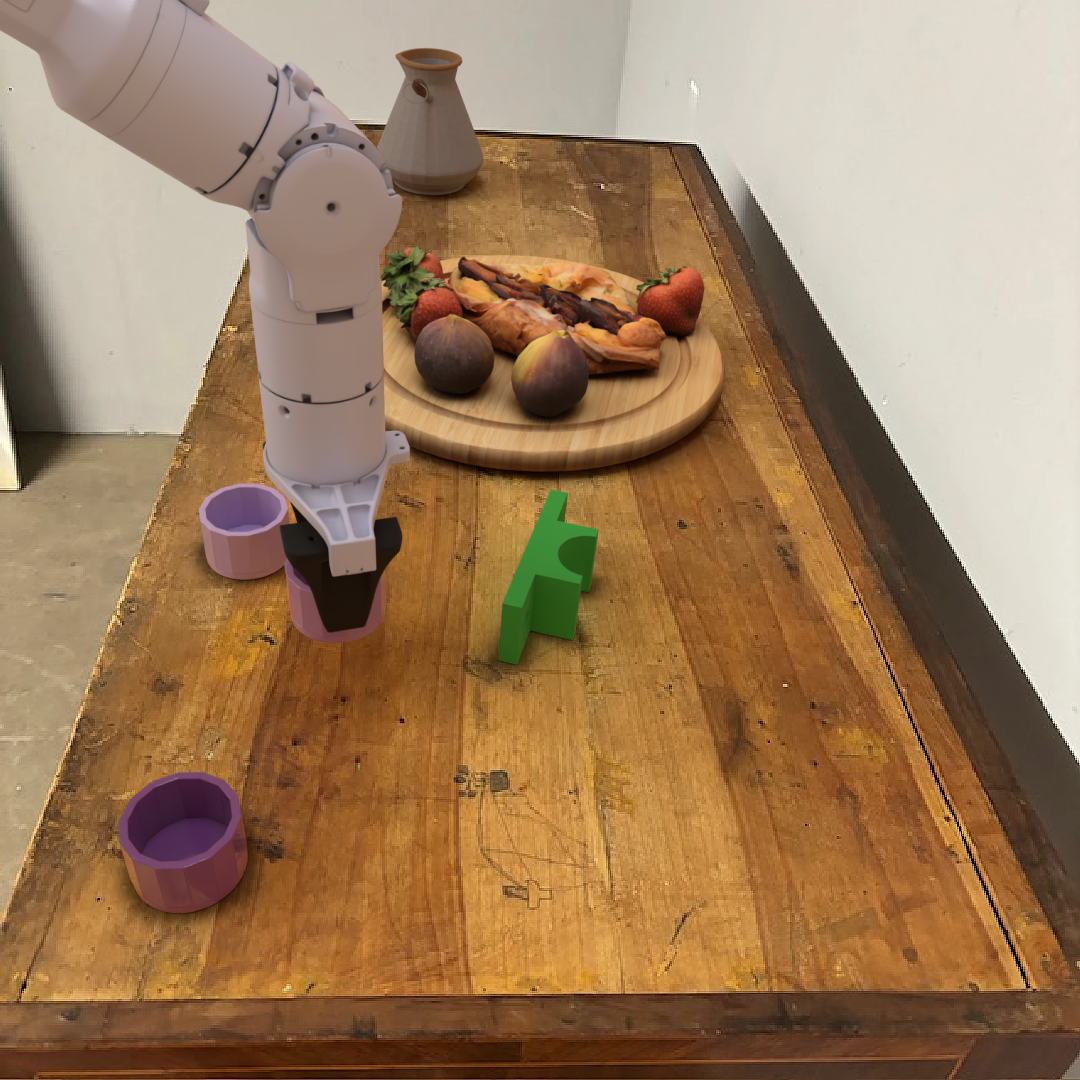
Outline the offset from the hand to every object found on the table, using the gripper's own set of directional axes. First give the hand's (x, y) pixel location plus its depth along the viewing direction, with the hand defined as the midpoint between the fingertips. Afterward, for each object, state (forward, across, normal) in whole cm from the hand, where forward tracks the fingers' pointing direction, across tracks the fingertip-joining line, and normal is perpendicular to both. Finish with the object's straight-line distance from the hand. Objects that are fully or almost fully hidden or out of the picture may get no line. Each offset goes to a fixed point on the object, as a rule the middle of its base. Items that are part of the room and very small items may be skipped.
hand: (336, 589), depth 59 cm
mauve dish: (+2, 0, 0) cm, 2 cm away
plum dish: (+5, -12, +9) cm, 16 cm away
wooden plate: (+5, +29, -20) cm, 36 cm away
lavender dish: (+5, +10, +4) cm, 12 cm away
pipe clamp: (+5, +1, -13) cm, 14 cm away
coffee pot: (+5, +64, -20) cm, 67 cm away
